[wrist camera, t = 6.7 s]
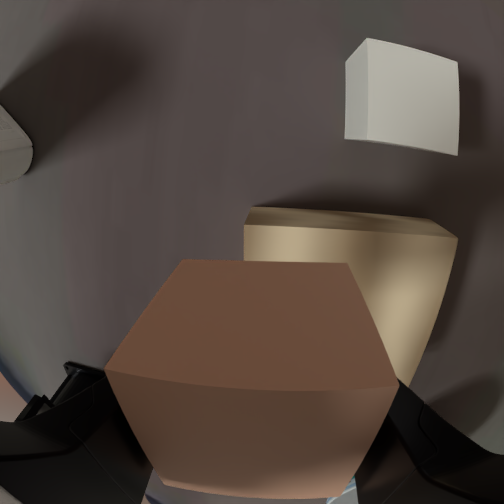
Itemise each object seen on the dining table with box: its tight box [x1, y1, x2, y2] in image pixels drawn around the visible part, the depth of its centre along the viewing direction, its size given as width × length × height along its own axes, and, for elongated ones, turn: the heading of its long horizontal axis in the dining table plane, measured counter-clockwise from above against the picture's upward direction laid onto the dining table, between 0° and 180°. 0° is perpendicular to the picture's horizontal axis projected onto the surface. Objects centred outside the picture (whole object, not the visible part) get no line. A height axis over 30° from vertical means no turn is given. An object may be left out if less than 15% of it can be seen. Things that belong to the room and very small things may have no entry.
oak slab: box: [244, 207, 458, 387], centre depth 18 cm, size 12×12×4 cm
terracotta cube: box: [104, 259, 400, 499], centre depth 7 cm, size 5×5×5 cm
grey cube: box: [345, 38, 459, 156], centre depth 13 cm, size 5×5×5 cm
